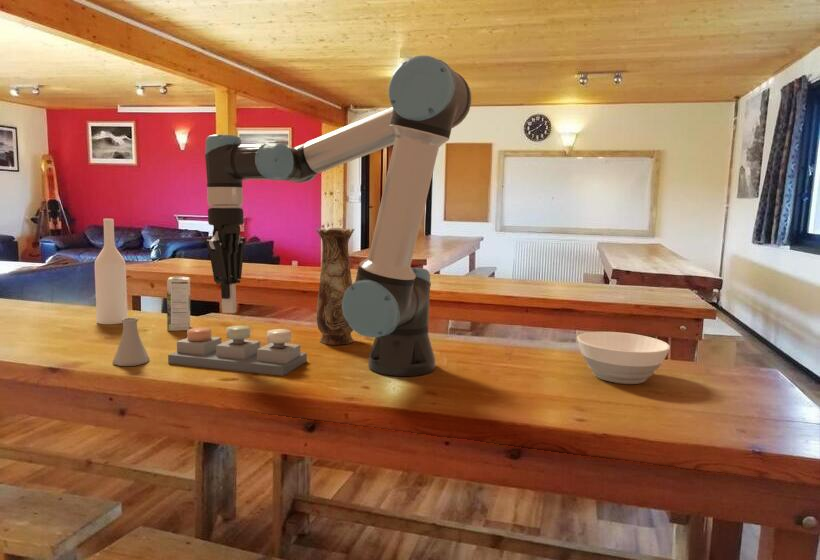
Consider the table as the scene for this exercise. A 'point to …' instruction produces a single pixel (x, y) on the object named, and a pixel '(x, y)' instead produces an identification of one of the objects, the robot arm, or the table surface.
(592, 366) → the bowl
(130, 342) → the flask
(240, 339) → the button sage
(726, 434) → the table surface
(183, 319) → the syrup box
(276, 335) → the button cream
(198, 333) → the button terracotta
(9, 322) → the table surface
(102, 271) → the bottle
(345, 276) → the vase
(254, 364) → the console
